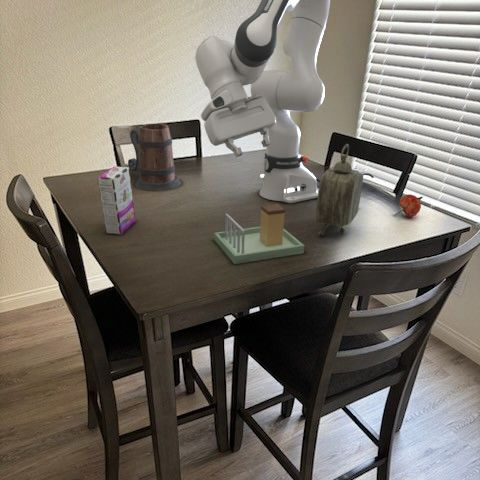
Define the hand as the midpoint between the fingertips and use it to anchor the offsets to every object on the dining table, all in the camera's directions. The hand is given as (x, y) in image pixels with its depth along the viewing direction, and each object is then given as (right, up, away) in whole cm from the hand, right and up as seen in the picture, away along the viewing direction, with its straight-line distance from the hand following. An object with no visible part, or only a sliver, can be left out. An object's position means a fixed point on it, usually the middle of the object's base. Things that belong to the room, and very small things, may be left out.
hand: (253, 150), depth 127 cm
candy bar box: (-39, -18, +14) cm, 45 cm away
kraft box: (+5, -23, +6) cm, 25 cm away
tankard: (-37, +7, +52) cm, 64 cm away
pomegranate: (+50, -12, +27) cm, 58 cm away
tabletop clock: (+25, -19, +15) cm, 35 cm away
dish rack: (+1, -25, +5) cm, 25 cm away
